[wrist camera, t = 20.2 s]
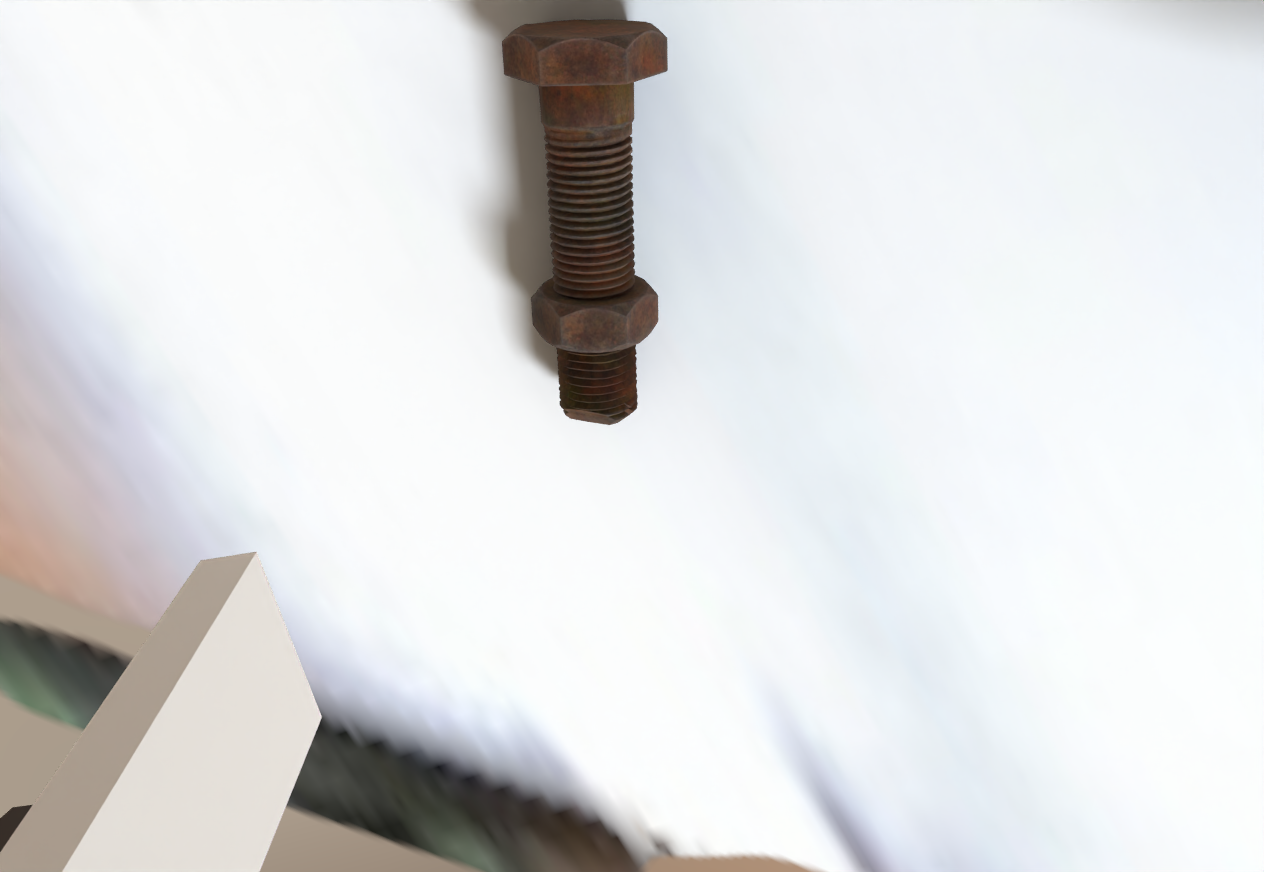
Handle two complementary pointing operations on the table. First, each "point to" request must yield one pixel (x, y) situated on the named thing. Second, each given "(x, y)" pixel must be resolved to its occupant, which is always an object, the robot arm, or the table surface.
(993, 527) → the table surface
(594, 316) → the bolt
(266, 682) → the robot arm
